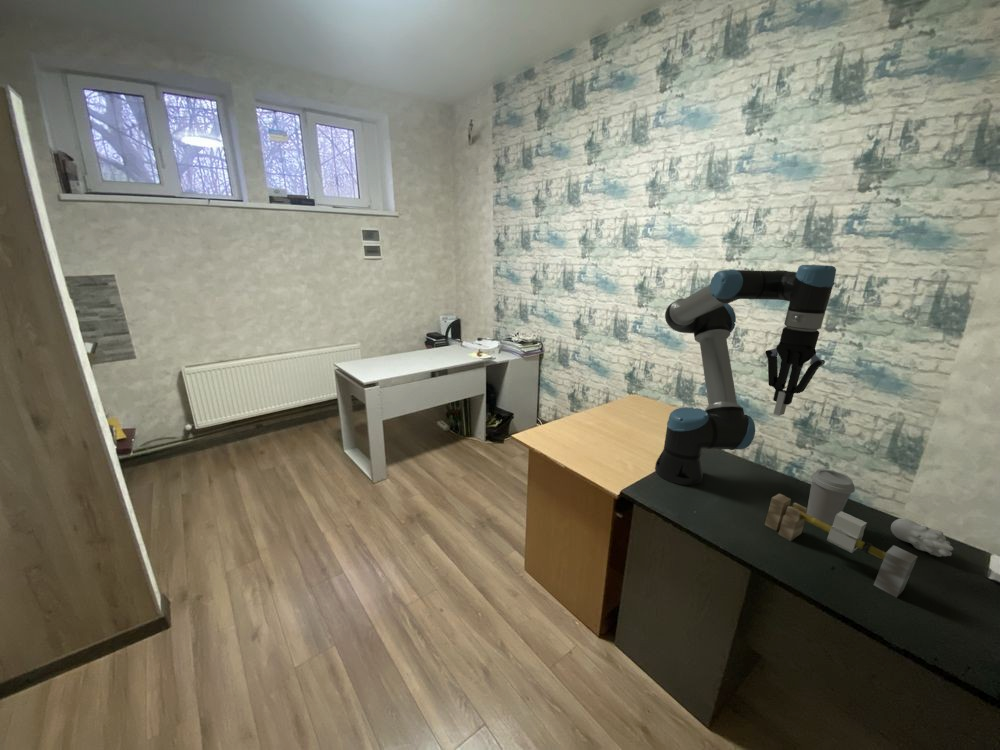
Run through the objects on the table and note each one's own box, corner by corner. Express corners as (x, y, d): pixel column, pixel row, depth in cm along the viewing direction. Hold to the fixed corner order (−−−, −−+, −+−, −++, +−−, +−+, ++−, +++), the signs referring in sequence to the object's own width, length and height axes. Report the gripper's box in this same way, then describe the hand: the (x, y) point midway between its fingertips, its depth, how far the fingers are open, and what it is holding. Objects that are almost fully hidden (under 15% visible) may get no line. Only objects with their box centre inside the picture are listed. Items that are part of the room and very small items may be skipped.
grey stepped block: (826, 540, 97) (834, 515, 95) (834, 534, 99) (842, 510, 97) (851, 553, 93) (860, 527, 91) (858, 547, 95) (867, 521, 93)
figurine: (902, 520, 109) (964, 547, 98) (889, 539, 108) (949, 568, 98) (896, 509, 106) (959, 535, 95) (882, 528, 106) (944, 557, 95)
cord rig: (762, 525, 110) (770, 496, 107) (773, 519, 113) (781, 490, 110) (895, 599, 87) (909, 565, 84) (904, 588, 90) (918, 555, 87)
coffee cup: (849, 536, 106) (865, 488, 102) (810, 530, 108) (824, 484, 104) (828, 514, 115) (843, 469, 111) (792, 509, 117) (805, 465, 113)
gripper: (766, 325, 101) (746, 408, 109) (825, 334, 91) (799, 426, 98) (780, 322, 105) (760, 403, 112) (839, 331, 94) (813, 420, 102)
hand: (778, 413), depth 105 cm, fingers closed
